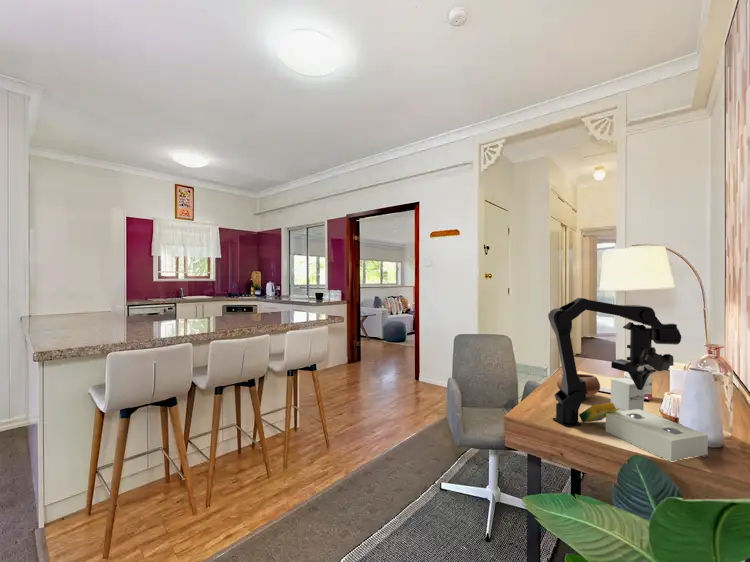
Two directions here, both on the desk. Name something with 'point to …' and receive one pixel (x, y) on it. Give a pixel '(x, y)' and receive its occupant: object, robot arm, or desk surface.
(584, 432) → the desk surface
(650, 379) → the ink box
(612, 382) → the supplement box
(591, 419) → the crayon box
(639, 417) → the peg near arm
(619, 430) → the block
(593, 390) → the bowl
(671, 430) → the peg far side
